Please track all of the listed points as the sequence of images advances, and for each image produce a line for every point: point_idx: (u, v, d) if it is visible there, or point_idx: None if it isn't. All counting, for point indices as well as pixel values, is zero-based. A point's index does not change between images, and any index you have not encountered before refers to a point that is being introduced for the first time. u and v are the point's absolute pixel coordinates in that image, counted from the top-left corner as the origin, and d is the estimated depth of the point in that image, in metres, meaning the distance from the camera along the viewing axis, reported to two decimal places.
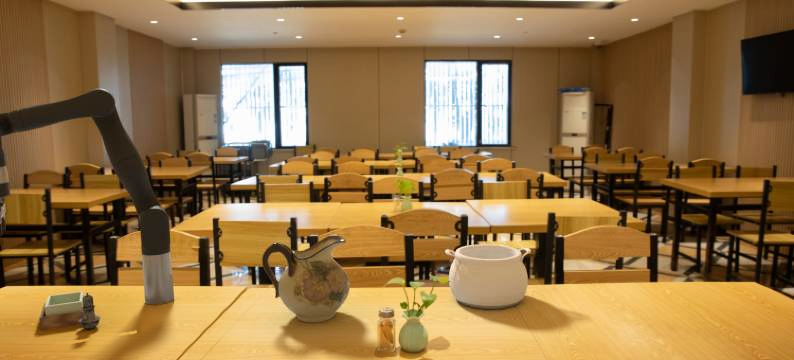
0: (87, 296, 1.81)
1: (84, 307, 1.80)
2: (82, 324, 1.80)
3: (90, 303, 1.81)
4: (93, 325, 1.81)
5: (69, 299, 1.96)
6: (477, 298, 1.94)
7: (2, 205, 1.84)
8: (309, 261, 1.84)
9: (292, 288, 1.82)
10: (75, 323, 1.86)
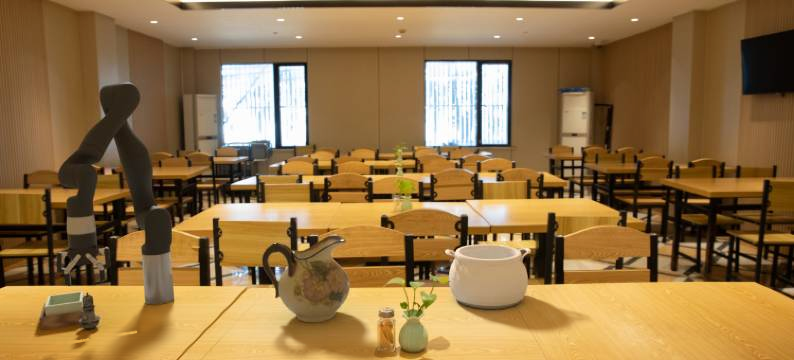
0: (87, 296, 1.81)
1: (84, 307, 1.80)
2: (82, 324, 1.80)
3: (90, 303, 1.81)
4: (93, 325, 1.81)
5: (69, 299, 1.96)
6: (477, 298, 1.94)
7: None
8: (309, 261, 1.84)
9: (292, 288, 1.82)
10: (75, 323, 1.86)
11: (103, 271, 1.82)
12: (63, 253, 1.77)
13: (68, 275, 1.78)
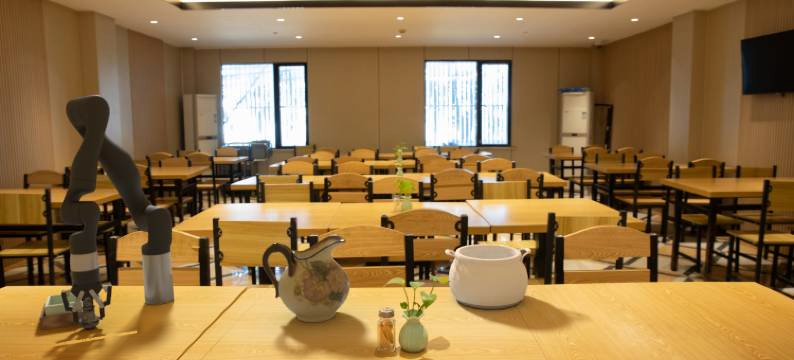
0: None
1: (84, 307, 1.80)
2: (82, 324, 1.80)
3: (90, 303, 1.81)
4: (93, 325, 1.81)
5: (69, 299, 1.96)
6: (477, 298, 1.94)
7: None
8: (309, 261, 1.84)
9: (292, 288, 1.82)
10: (75, 323, 1.86)
11: (103, 309, 1.83)
12: (67, 291, 1.78)
13: (76, 313, 1.80)
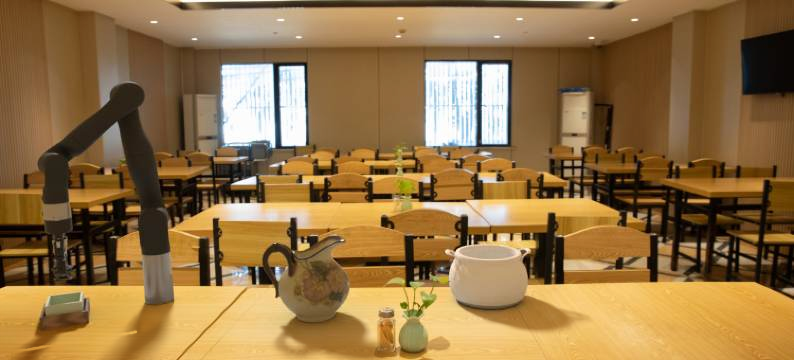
0: None
1: None
2: (68, 270, 1.88)
3: None
4: None
5: (69, 299, 1.96)
6: (477, 298, 1.94)
7: None
8: (309, 261, 1.84)
9: (292, 288, 1.82)
10: (75, 323, 1.86)
11: None
12: (59, 241, 1.84)
13: (64, 261, 1.86)
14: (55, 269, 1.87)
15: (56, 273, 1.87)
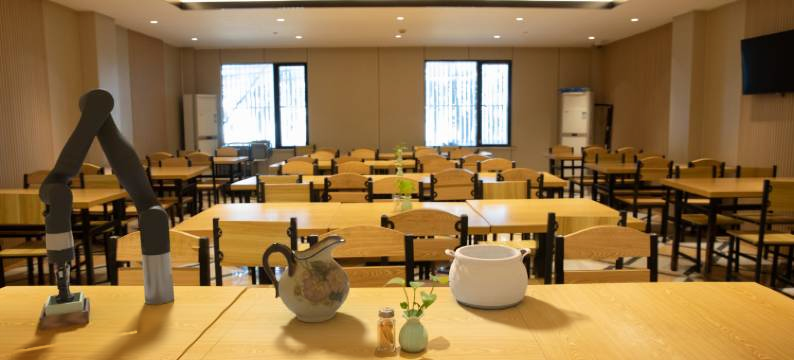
0: None
1: None
2: (70, 299, 1.90)
3: None
4: None
5: None
6: (477, 298, 1.94)
7: None
8: (309, 261, 1.84)
9: (292, 288, 1.82)
10: (75, 323, 1.86)
11: None
12: None
13: None
14: (57, 298, 1.88)
15: (58, 302, 1.88)
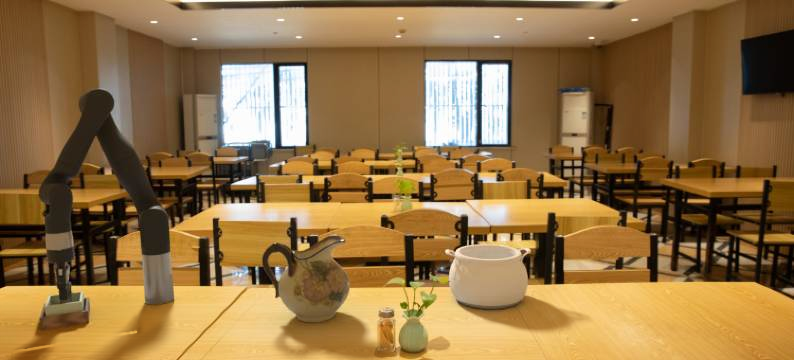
0: (68, 281, 1.91)
1: (69, 292, 1.90)
2: None
3: None
4: None
5: None
6: (477, 298, 1.94)
7: None
8: (309, 261, 1.84)
9: (292, 288, 1.82)
10: (75, 323, 1.86)
11: None
12: (62, 269, 1.85)
13: (66, 288, 1.87)
14: None
15: None
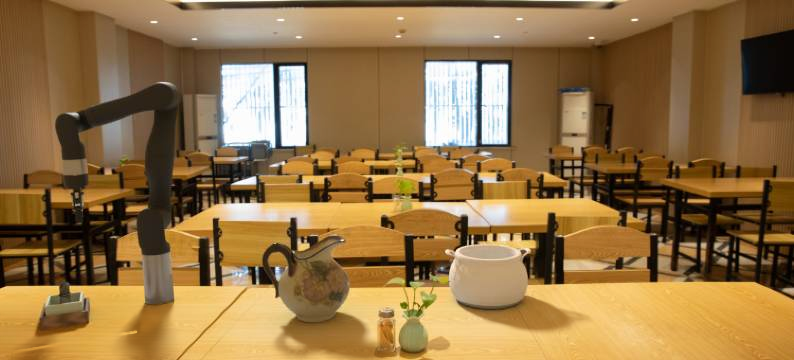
0: (66, 282, 1.90)
1: (67, 293, 1.90)
2: None
3: None
4: None
5: None
6: (477, 298, 1.94)
7: None
8: (309, 261, 1.84)
9: (292, 288, 1.82)
10: (75, 323, 1.86)
11: None
12: None
13: (82, 212, 2.00)
14: None
15: None
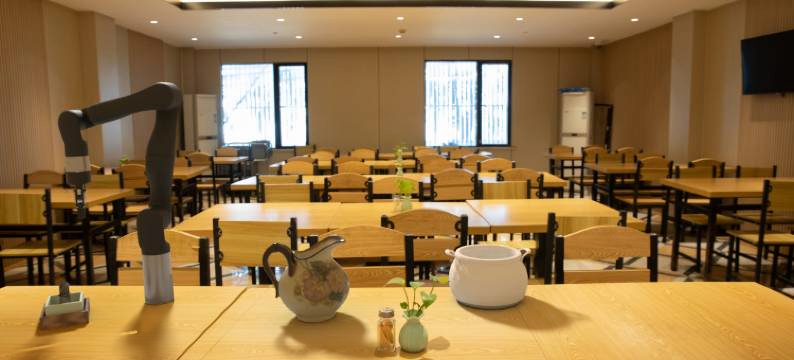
0: None
1: (67, 293, 1.90)
2: None
3: None
4: None
5: None
6: (477, 298, 1.94)
7: None
8: (309, 261, 1.84)
9: (292, 288, 1.82)
10: (75, 323, 1.86)
11: None
12: None
13: None
14: None
15: None
